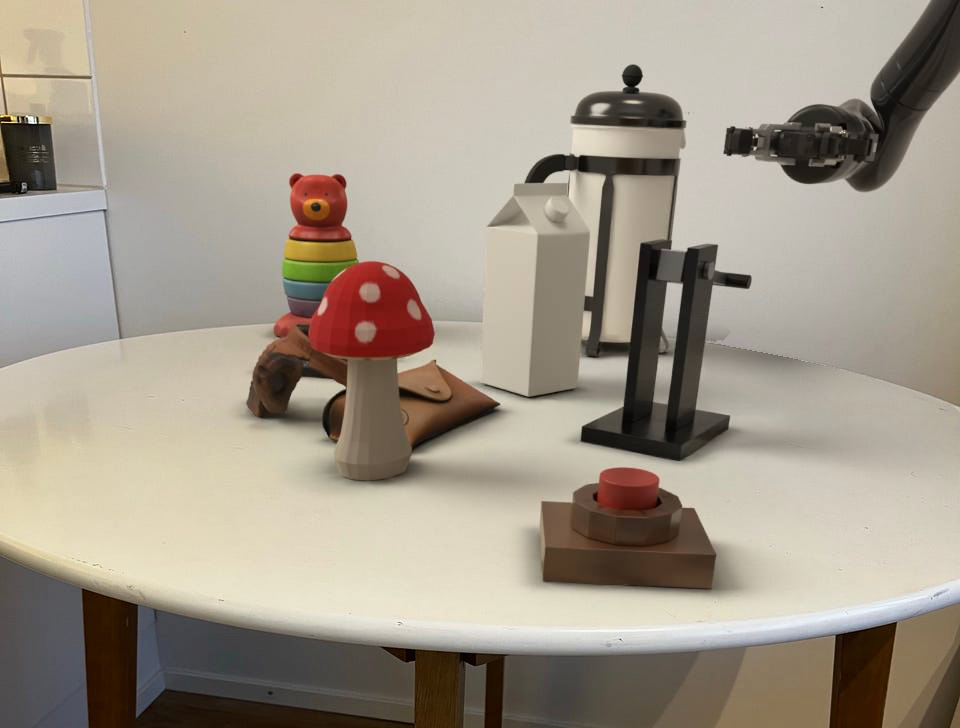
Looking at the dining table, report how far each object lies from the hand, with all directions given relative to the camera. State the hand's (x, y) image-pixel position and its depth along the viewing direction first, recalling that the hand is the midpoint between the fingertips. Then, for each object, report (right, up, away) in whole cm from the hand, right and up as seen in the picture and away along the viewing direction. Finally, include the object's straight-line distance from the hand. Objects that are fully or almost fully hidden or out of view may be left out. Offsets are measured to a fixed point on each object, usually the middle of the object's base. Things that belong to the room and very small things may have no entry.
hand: (779, 143), depth 96 cm
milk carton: (-24, -22, +7) cm, 33 cm away
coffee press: (-14, -12, +27) cm, 32 cm away
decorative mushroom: (-37, -34, -19) cm, 53 cm away
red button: (-19, -39, -35) cm, 56 cm away
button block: (-20, -42, -33) cm, 57 cm away
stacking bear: (-48, -9, +29) cm, 57 cm away
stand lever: (-10, -17, -8) cm, 21 cm away
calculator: (-45, -18, +13) cm, 50 cm away
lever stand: (-13, -29, -7) cm, 33 cm away
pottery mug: (-45, -27, -5) cm, 53 cm away
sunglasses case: (-34, -28, -7) cm, 45 cm away
